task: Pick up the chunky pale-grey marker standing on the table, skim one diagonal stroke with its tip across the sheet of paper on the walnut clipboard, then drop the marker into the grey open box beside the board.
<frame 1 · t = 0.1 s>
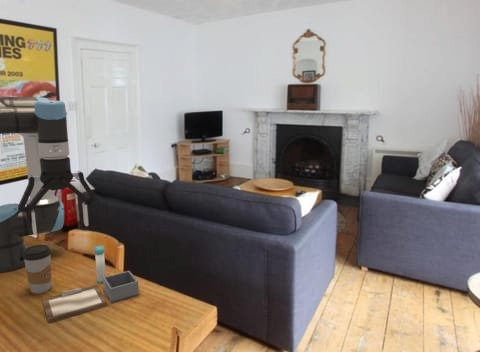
hand: (61, 229, 106), 28 cm above the table, fingers open, 13 cm apart
grey open box: (121, 292, 125), on the table
clipboard: (75, 304, 118), on the table
marker: (101, 280, 133), on the table
coffee cup: (41, 289, 126), on the table
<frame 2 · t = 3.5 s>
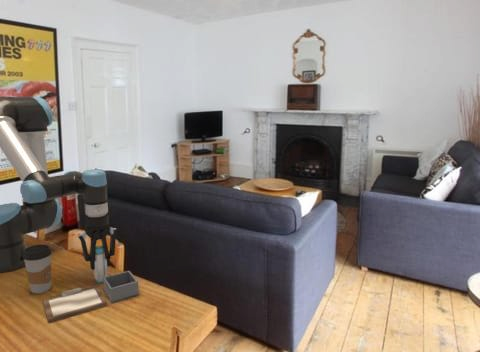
hand: (100, 275, 132), 2 cm above the table, fingers closed on marker, 3 cm apart
marker: (100, 280, 132), on the table, touching gripper
everything else where it was.
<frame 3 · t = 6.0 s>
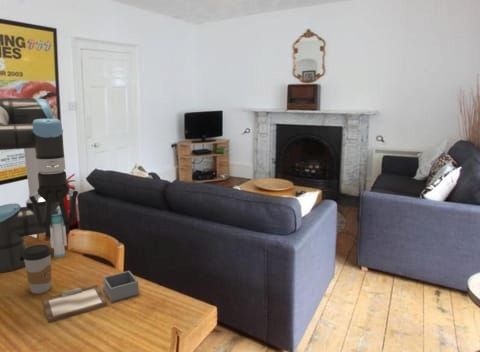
hand: (58, 245, 113), 20 cm above the table, fingers closed on marker, 3 cm apart
marker: (59, 255, 114), point 17 cm above the table, touching gripper
everything else where it was.
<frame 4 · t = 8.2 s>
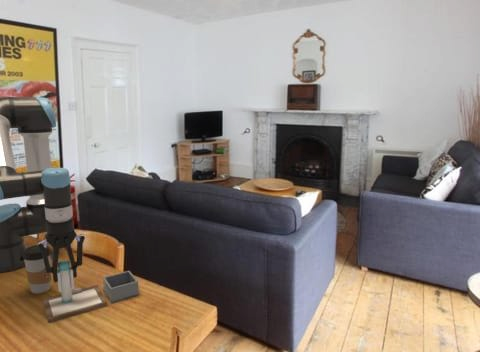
hand: (66, 288, 116), 6 cm above the table, fingers closed on marker, 3 cm apart
marker: (67, 299, 117), point 1 cm above the table, touching gripper
everything else where it was.
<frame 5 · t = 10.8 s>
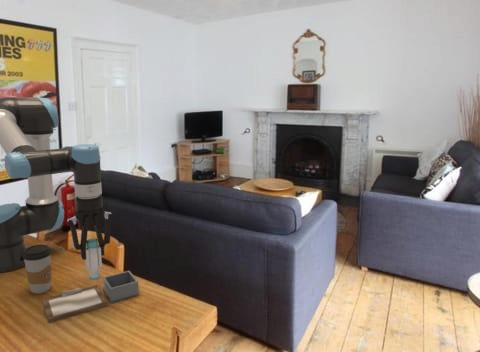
hand: (93, 266, 116), 13 cm above the table, fingers closed on marker, 3 cm apart
marker: (94, 278, 117), point 9 cm above the table, touching gripper
everything else where it was.
when the fingers open (7 cm above the table, at t = 13.2 s): marker drops 2 cm, resting on grey open box.
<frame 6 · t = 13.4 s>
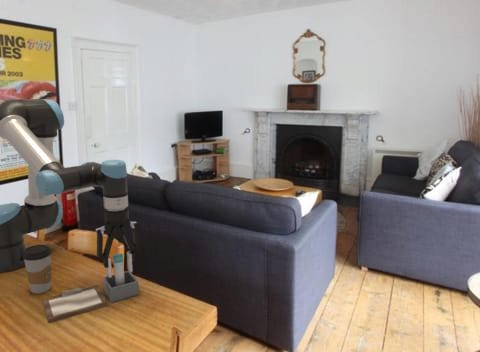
hand: (120, 272, 123), 7 cm above the table, fingers open, 6 cm apart
marker: (121, 291, 125), point 1 cm above the table, touching grey open box
everything else where it was.
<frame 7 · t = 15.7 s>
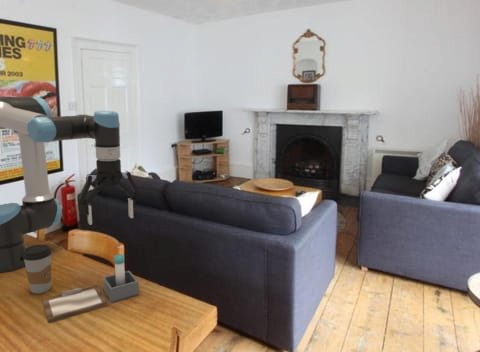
hand: (111, 220, 124), 25 cm above the table, fingers open, 13 cm apart
nothing on the table moved.
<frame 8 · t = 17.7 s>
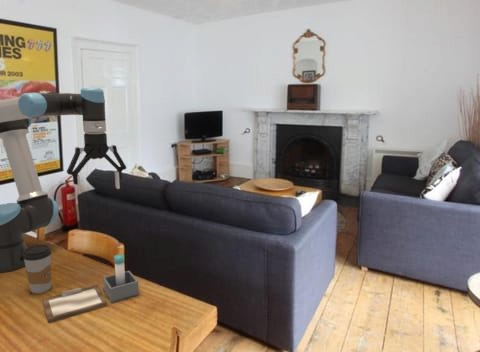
hand: (99, 190, 134), 32 cm above the table, fingers open, 13 cm apart
nothing on the table moved.
at the end: marker inside the target area on the grey open box (0.0 cm from its centre), point 0.5 cm above the grey open box's base; the gripper is holding nothing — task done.
